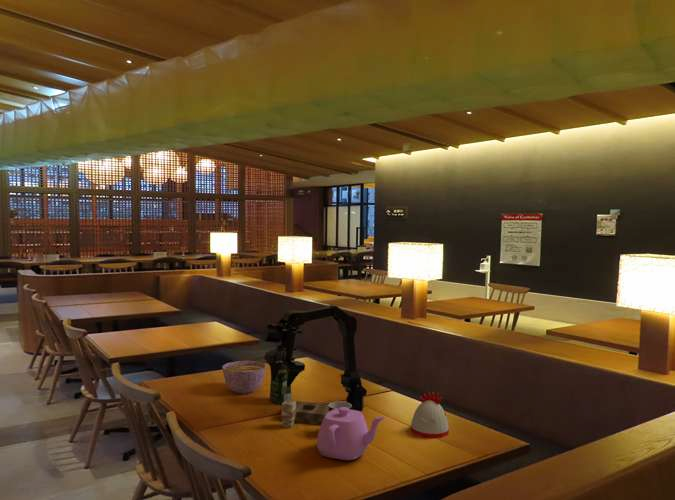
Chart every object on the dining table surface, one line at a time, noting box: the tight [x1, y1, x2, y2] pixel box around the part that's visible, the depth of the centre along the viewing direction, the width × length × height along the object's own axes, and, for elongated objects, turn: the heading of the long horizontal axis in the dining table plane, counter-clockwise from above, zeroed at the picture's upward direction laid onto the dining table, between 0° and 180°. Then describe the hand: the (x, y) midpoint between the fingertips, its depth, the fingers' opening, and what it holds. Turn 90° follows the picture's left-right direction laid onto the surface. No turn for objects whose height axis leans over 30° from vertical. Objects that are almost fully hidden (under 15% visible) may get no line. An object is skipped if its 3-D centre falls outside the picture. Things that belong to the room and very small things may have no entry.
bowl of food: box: [221, 360, 267, 395], centre depth 244 cm, size 20×20×12 cm
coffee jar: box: [269, 362, 292, 405], centre depth 230 cm, size 10×8×19 cm
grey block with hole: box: [280, 400, 330, 426], centre depth 211 cm, size 18×12×4 cm, turn 76°
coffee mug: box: [328, 401, 353, 412], centre depth 197 cm, size 12×9×10 cm
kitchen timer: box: [410, 391, 450, 439], centre depth 199 cm, size 14×14×15 cm
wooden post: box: [281, 400, 297, 429], centre depth 201 cm, size 4×4×9 cm
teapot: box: [316, 407, 386, 461], centre depth 176 cm, size 23×21×15 cm
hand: (280, 383), depth 205 cm, fingers open, 9 cm apart
